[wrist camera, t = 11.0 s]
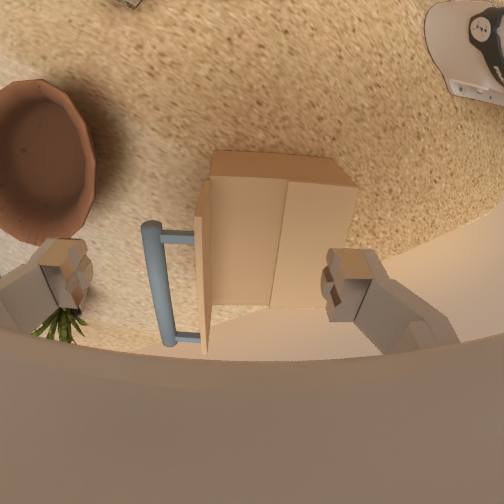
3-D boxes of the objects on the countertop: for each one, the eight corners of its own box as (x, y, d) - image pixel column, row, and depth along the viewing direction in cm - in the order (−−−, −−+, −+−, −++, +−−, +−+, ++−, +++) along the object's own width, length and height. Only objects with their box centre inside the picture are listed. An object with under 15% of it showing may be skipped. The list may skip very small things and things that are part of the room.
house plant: (32, 275, 46) (-4, 334, 33) (58, 237, 42) (13, 302, 29) (83, 316, 54) (59, 379, 40) (116, 287, 49) (90, 360, 36)
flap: (201, 218, 22) (135, 216, 21) (207, 356, 32) (162, 352, 31) (211, 180, 28) (160, 179, 28) (211, 307, 38) (173, 305, 38)
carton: (331, 158, 38) (360, 188, 30) (310, 262, 49) (325, 307, 40) (214, 150, 37) (208, 177, 28) (212, 260, 47) (209, 307, 38)
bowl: (57, 44, 25) (10, 45, 16) (159, 136, 35) (134, 160, 26) (-5, 157, 32) (-45, 184, 23) (78, 234, 42) (50, 276, 34)
